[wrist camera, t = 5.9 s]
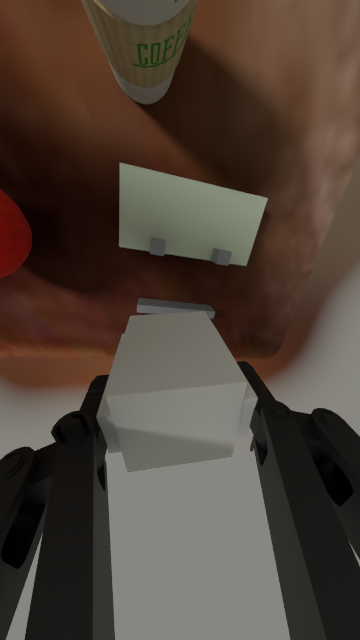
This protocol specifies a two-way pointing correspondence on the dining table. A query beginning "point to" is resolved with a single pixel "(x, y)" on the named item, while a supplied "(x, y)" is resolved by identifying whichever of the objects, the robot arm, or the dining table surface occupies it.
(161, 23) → the coffee cup
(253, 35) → the dining table surface
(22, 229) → the apple
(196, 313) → the gray rectangular prism
